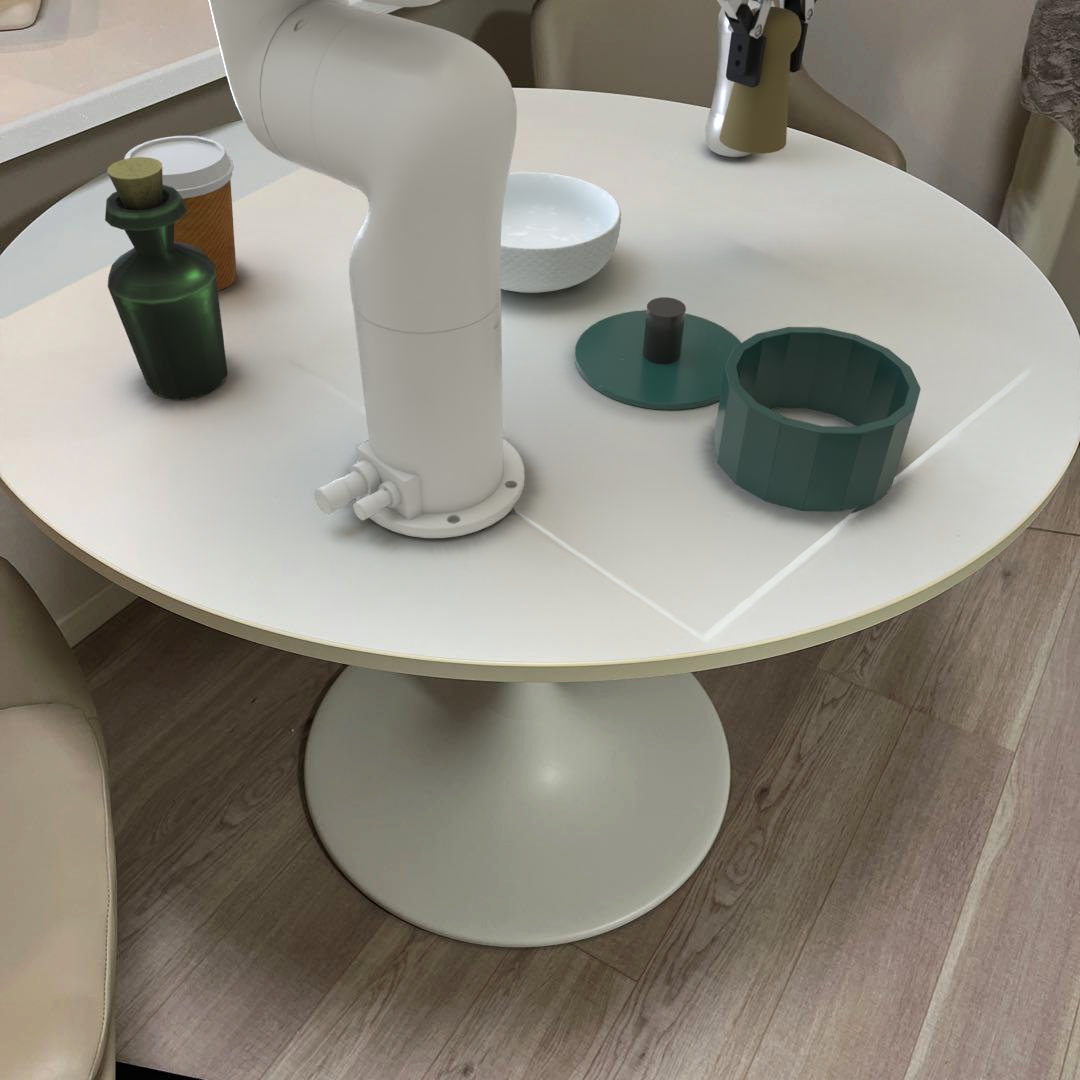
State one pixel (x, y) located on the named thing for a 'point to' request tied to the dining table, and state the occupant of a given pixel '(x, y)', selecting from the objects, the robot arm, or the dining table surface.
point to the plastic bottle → (722, 90)
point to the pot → (807, 449)
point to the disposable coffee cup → (199, 196)
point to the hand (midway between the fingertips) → (763, 73)
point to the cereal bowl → (555, 231)
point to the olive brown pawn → (764, 92)
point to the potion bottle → (164, 286)
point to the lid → (656, 357)
